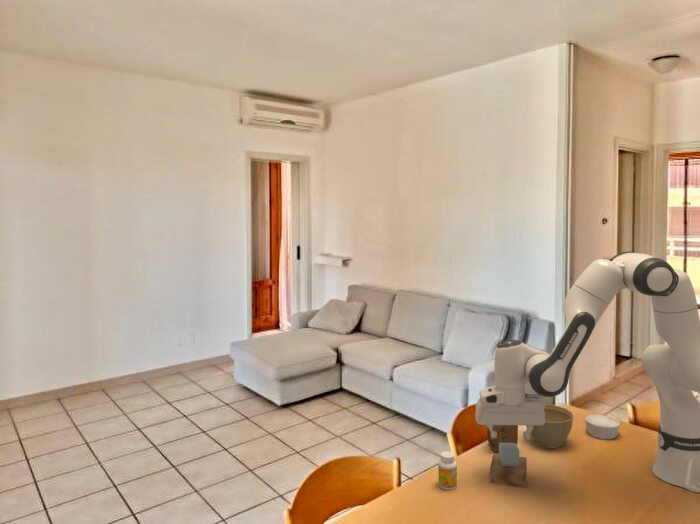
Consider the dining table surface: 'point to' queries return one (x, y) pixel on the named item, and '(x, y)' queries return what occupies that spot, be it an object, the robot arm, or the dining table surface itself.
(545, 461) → the dining table surface
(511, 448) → the slate cube
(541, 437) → the planter bowl
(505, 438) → the brown rounded block
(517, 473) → the walnut block
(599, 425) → the ramekin
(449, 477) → the supplement bottle
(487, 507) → the dining table surface
